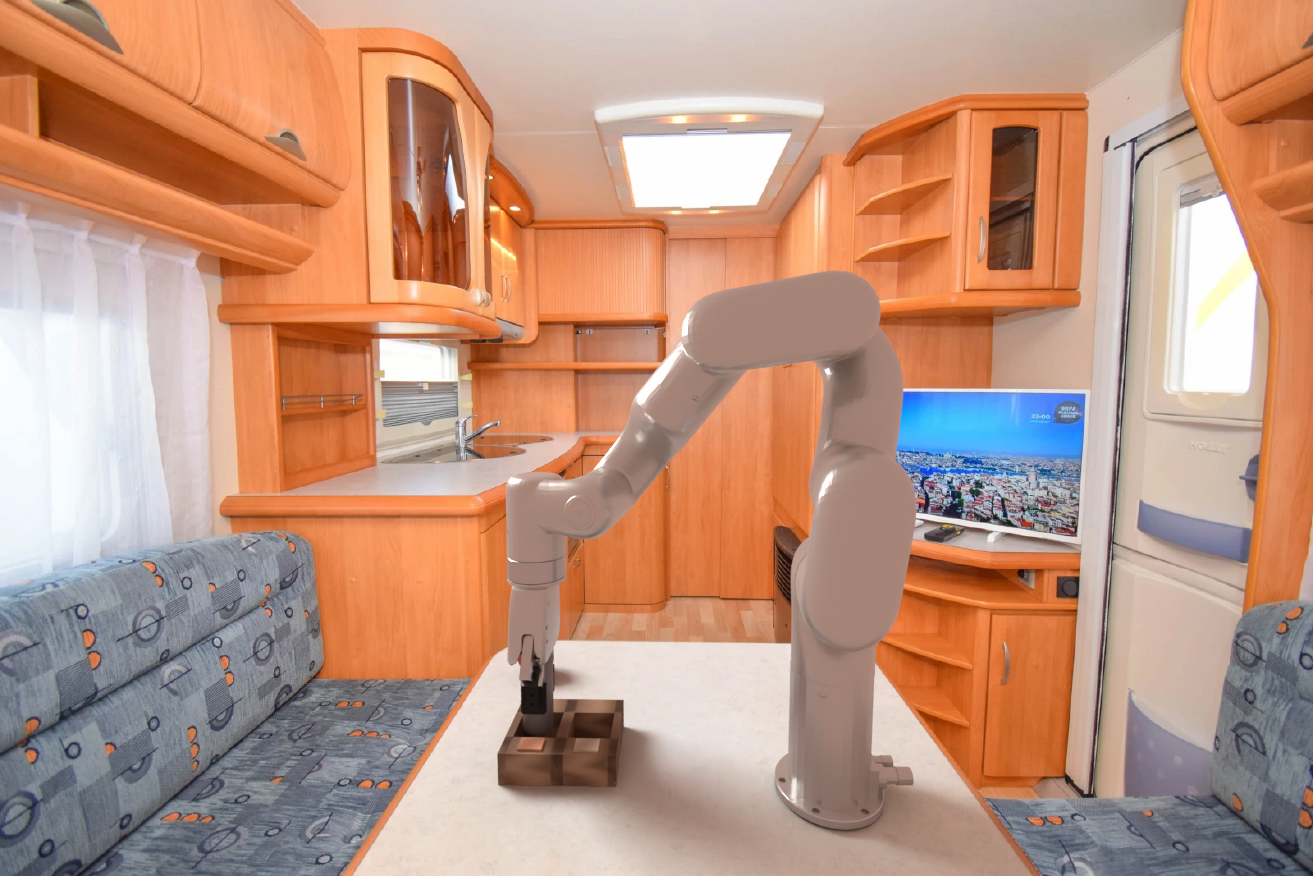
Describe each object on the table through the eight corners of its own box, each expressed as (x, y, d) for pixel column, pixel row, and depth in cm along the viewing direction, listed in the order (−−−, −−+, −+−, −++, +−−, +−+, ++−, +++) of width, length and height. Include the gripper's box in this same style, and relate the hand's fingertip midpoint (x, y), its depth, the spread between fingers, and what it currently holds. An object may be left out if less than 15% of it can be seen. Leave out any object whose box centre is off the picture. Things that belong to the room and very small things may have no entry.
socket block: (623, 726, 78) (623, 697, 78) (615, 786, 66) (615, 753, 66) (523, 724, 78) (523, 696, 78) (498, 784, 66) (497, 751, 66)
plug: (556, 716, 74) (555, 645, 73) (550, 734, 70) (549, 660, 69) (527, 715, 74) (526, 645, 73) (519, 734, 70) (518, 659, 69)
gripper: (525, 549, 79) (526, 670, 80) (486, 591, 62) (489, 743, 64) (576, 549, 79) (577, 671, 80) (552, 592, 62) (553, 744, 63)
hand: (538, 701), depth 72 cm, fingers closed on plug, 4 cm apart
